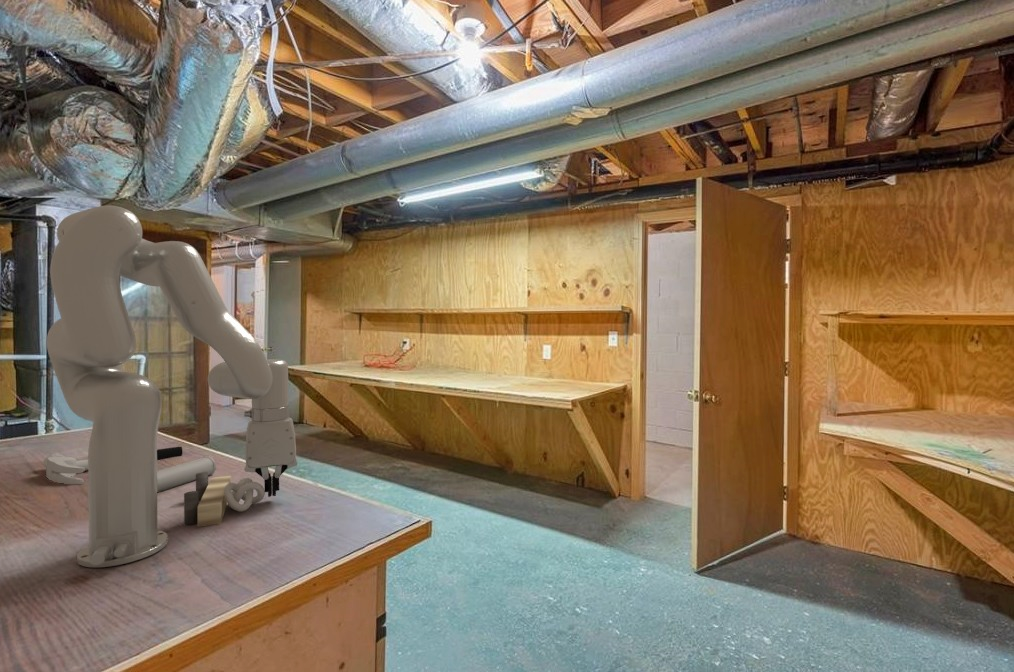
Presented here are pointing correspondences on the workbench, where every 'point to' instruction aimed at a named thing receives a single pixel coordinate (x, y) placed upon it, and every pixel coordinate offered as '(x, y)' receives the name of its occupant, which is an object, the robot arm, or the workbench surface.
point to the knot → (243, 494)
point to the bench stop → (206, 501)
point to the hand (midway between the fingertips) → (272, 494)
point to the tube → (184, 472)
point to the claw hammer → (85, 465)
